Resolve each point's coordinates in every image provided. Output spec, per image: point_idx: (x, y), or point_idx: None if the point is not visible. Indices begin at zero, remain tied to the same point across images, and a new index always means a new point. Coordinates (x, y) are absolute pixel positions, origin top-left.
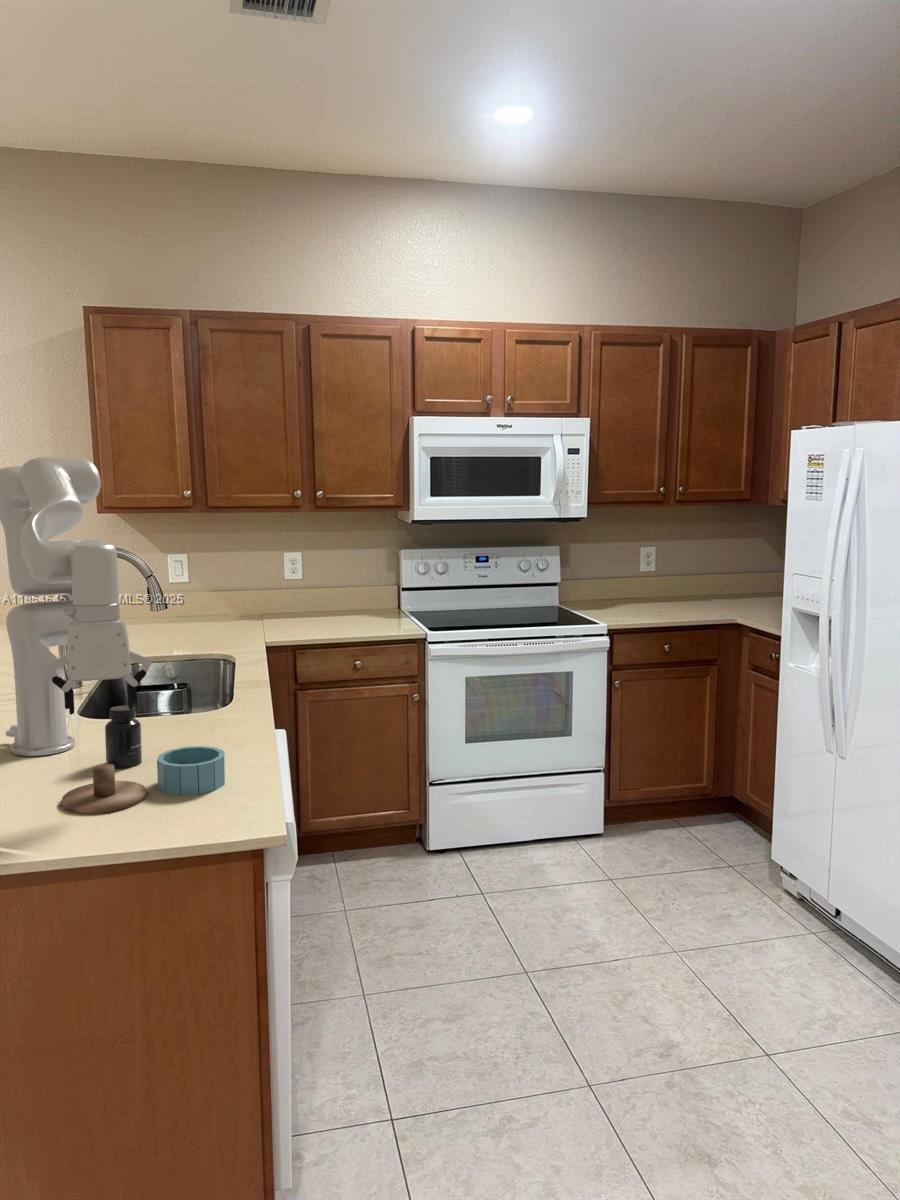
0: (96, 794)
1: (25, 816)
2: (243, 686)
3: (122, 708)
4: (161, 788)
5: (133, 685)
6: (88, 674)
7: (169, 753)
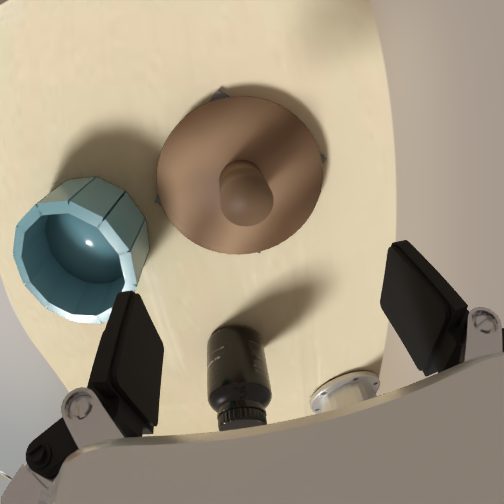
0: (256, 166)
1: (372, 135)
2: None
3: (242, 427)
4: (133, 209)
5: (89, 397)
6: (443, 426)
7: None
